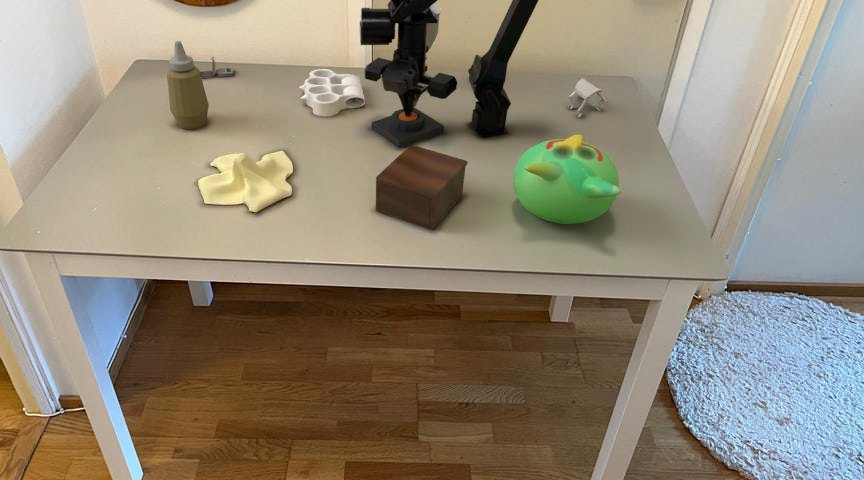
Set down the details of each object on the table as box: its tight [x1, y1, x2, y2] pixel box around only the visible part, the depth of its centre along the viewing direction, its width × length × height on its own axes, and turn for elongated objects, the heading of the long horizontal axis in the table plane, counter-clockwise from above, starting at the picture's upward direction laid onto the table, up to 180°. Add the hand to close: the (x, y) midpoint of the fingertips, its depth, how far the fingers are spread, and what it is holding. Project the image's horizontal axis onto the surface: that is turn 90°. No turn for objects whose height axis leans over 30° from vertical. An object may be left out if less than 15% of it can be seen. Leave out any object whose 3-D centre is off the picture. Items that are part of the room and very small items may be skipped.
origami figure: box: [568, 77, 608, 118], centre depth 156 cm, size 12×8×5 cm
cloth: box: [197, 150, 294, 213], centre depth 129 cm, size 22×19×6 cm
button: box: [399, 112, 418, 121], centre depth 145 cm, size 4×4×2 cm
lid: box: [375, 144, 468, 199], centre depth 122 cm, size 13×12×1 cm
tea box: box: [375, 167, 466, 231], centre depth 124 cm, size 13×12×6 cm
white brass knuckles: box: [298, 68, 366, 118], centre depth 157 cm, size 3×18×15 cm
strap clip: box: [200, 56, 234, 79], centre depth 165 cm, size 8×3×4 cm, turn 104°
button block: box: [371, 107, 445, 149], centre depth 146 cm, size 12×10×4 cm
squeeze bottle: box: [166, 40, 210, 130], centre depth 142 cm, size 8×8×18 cm
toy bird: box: [512, 133, 623, 225], centre depth 119 cm, size 18×17×15 cm
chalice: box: [424, 4, 443, 75], centre depth 159 cm, size 7×7×18 cm
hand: (408, 115), depth 145 cm, fingers closed, pressing on button
